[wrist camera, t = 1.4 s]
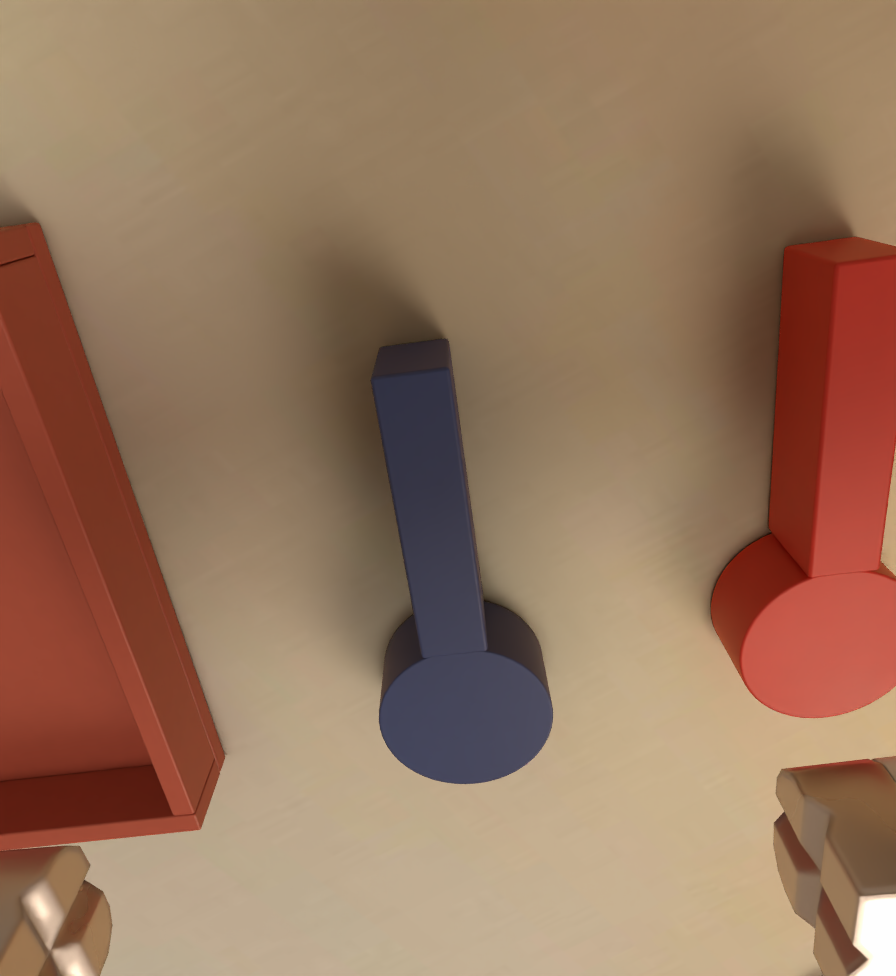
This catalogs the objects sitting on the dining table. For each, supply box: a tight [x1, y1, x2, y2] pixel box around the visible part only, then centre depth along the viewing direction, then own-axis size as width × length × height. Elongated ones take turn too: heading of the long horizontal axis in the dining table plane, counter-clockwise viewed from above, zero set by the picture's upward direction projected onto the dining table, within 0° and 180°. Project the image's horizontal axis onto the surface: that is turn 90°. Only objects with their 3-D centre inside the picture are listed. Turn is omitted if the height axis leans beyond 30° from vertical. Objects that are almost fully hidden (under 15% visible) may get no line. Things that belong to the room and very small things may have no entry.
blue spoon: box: [371, 339, 553, 784], centre depth 18 cm, size 11×4×2 cm, turn 8°
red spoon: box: [711, 237, 896, 718], centre depth 17 cm, size 11×4×2 cm, turn 8°
